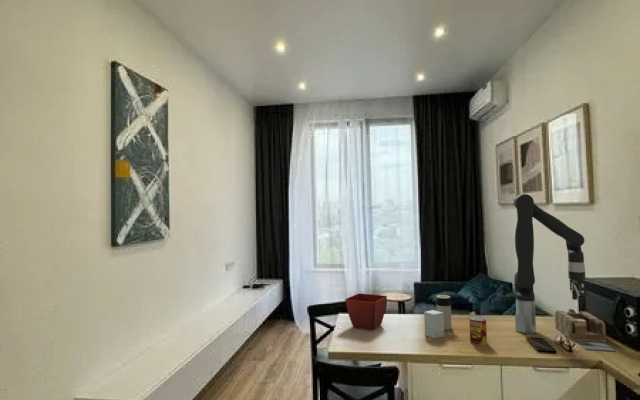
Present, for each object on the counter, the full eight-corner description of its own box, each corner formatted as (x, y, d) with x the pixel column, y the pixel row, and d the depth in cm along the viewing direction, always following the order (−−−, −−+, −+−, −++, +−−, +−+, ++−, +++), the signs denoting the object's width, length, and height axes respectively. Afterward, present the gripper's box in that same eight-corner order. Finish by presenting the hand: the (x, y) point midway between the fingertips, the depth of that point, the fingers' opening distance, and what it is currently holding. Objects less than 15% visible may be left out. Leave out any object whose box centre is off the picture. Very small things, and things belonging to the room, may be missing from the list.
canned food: (467, 342, 195) (466, 318, 196) (475, 338, 200) (474, 315, 201) (481, 346, 189) (480, 321, 190) (490, 342, 194) (489, 318, 194)
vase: (581, 326, 218) (581, 311, 218) (568, 326, 219) (567, 310, 220) (576, 323, 225) (575, 308, 225) (563, 322, 226) (562, 307, 226)
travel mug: (453, 330, 216) (452, 297, 217) (439, 330, 216) (438, 297, 217) (449, 325, 224) (448, 294, 225) (435, 326, 224) (434, 294, 225)
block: (586, 330, 201) (586, 321, 201) (575, 330, 202) (575, 320, 202) (583, 328, 205) (582, 319, 205) (572, 328, 206) (572, 318, 206)
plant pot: (344, 328, 223) (344, 298, 224) (359, 320, 239) (358, 293, 240) (375, 333, 213) (374, 302, 214) (388, 324, 229) (387, 295, 230)
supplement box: (444, 336, 205) (443, 312, 206) (434, 338, 201) (434, 314, 202) (434, 332, 211) (433, 309, 212) (424, 335, 208) (423, 311, 208)
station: (620, 352, 178) (619, 330, 178) (581, 349, 182) (580, 328, 182) (588, 330, 211) (587, 311, 212) (555, 328, 215) (555, 310, 216)
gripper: (563, 268, 212) (565, 298, 212) (573, 272, 199) (575, 304, 198) (579, 268, 211) (580, 298, 210) (590, 272, 197) (592, 304, 196)
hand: (578, 301), depth 204 cm, fingers open, 8 cm apart
